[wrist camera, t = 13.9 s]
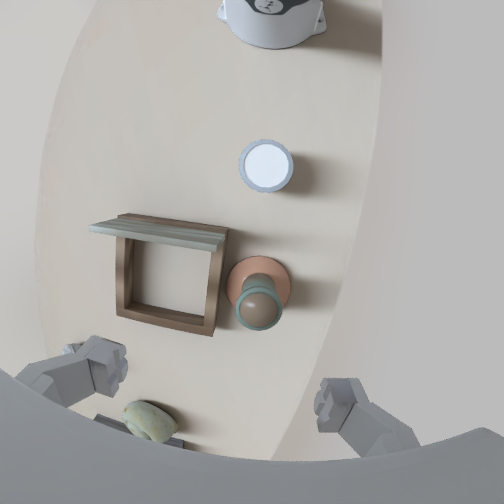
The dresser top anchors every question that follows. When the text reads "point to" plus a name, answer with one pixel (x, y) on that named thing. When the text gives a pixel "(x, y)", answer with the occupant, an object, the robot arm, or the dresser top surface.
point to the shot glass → (265, 165)
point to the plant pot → (258, 303)
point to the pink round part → (258, 266)
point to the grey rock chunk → (70, 348)
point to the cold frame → (169, 234)
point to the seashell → (149, 421)
